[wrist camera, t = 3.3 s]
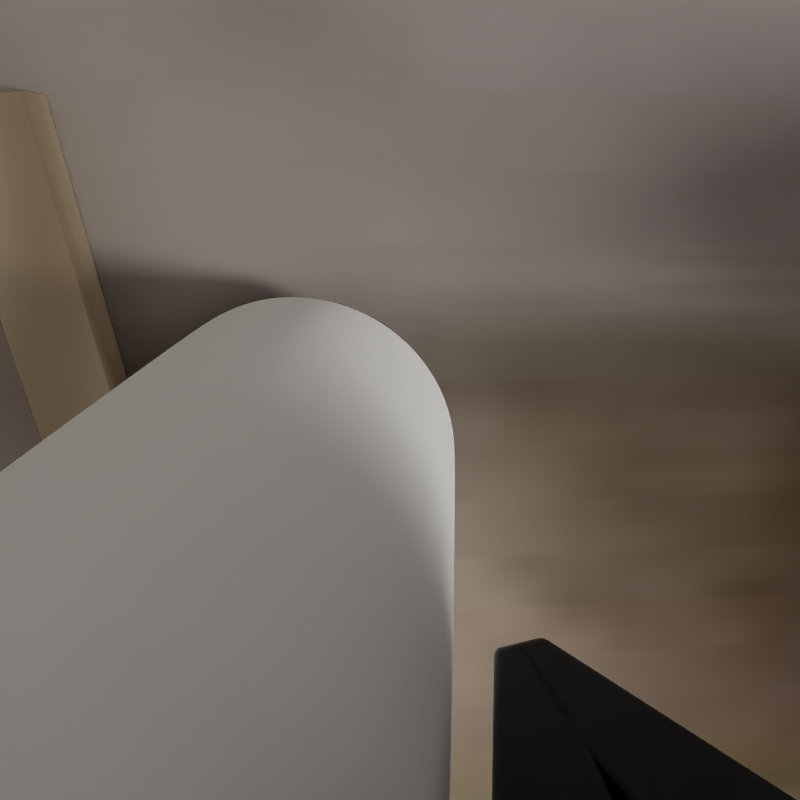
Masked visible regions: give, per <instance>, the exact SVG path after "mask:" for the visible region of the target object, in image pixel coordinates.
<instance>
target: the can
mask: <svg viewBox="0 0 800 800" xmlns="http://www.w3.org/2000/svg"><path fill="white" fill-rule="evenodd" d="M454 516H455V454H454V437H453V430H452V424H451V419H450V415H449V411H448V408H447V405H446V402H445V399H444V397H443V395H442V392H441V390H440V388H439V386H438V384H437V382H436V380H435V378H434V377H433V375H432V374H431V372H430V370H429V369H428V367H427V366H426V365H425V363H424V362H423V361H422V359H421V358H420V357H419V356H418V355H417V353H416V352H415V351H414V350H413V349H412V348H411V347H410V346H409V345H408V344H407V343H406V342H405V341H404V340H403V339H402V338H400V337H399V336H398V335H397V334H396V333H394V332H393V331H392V330H390V329H389V328H388V327H386V326H385V325H383V324H382V323H380V322H378V321H377V320H375V319H373V318H371V317H369V316H368V315H366V314H364V313H361V312H359V311H357V310H354V309H352V308H349V307H347V306H344V305H340V304H337V303H333V302H329V301H325V300H320V299H313V298H303V297H281V298H271V299H265V300H260V301H255V302H251V303H248V304H245V305H242V306H239V307H236V308H234V309H231V310H229V311H227V312H225V313H223V314H221V315H219V316H217V317H215V318H213V319H212V320H210V321H209V322H207V323H205V324H204V325H202V326H201V327H199V328H198V329H196V330H195V331H193V332H192V333H191V334H189V335H188V336H186V337H185V338H183V339H182V340H181V341H179V342H178V343H176V344H175V345H174V346H172V347H171V348H169V349H168V350H167V351H165V352H164V353H162V354H161V355H160V356H158V357H157V358H155V359H154V360H153V361H151V362H150V363H148V364H147V365H146V366H144V367H143V368H142V369H140V370H139V371H137V372H136V373H135V374H133V375H132V376H131V377H129V378H128V379H126V380H125V381H124V382H122V383H121V384H119V385H118V386H117V387H115V388H114V389H113V390H111V391H110V392H108V393H107V394H106V395H104V396H103V397H102V398H100V399H99V400H97V401H96V402H95V403H93V404H92V405H91V406H89V407H88V408H86V409H85V410H84V411H82V412H81V413H80V414H78V415H77V416H76V417H74V418H73V419H71V420H70V421H69V422H67V423H66V424H65V425H63V426H62V427H61V428H59V429H58V430H56V431H55V432H54V433H52V434H51V435H50V436H48V437H47V438H45V439H44V440H43V441H41V442H40V443H39V444H37V445H36V446H35V447H33V448H32V449H30V450H29V451H28V452H26V453H25V454H24V455H22V456H21V457H20V458H18V459H17V460H15V461H14V462H13V463H11V464H10V465H9V466H7V467H6V468H5V469H3V470H2V471H0V800H449V794H450V752H451V703H452V650H453V591H454Z"/></svg>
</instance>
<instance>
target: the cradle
mask: <svg viewBox="0 0 800 800" xmlns="http://www.w3.org/2000/svg"><path fill="white" fill-rule="evenodd" d="M0 321H1V324H2V327H3V330H4V333H5V336H6V339H7V341H8V344H9V347H10V350H11V353H12V356H13V359H14V362H15V365H16V368H17V371H18V374H19V377H20V380H21V383H22V386H23V388H24V391H25V394H26V397H27V400H28V403H29V406H30V409H31V412H32V415H33V418H34V421H35V424H36V427H37V430H38V433H39V435H40V438H41V441H43V440H44V439H45V438H47V437H48V436H50V435H51V434H52V433H54V432H55V431H56V430H58V429H59V428H61V427H62V426H63V425H65V424H66V423H67V422H69V421H70V420H71V419H73V418H74V417H76V416H77V415H78V414H80V413H81V412H82V411H84V410H85V409H86V408H88V407H89V406H91V405H92V404H93V403H95V402H96V401H97V400H99V399H100V398H102V397H103V396H104V395H106V394H107V393H108V392H110V391H111V390H113V389H114V388H115V387H117V386H118V385H119V384H121V383H122V382H124V381H125V380H126V379H127V376H126V372H125V369H124V365H123V362H122V358H121V355H120V351H119V348H118V344H117V341H116V337H115V334H114V331H113V327H112V324H111V320H110V317H109V313H108V310H107V306H106V303H105V299H104V296H103V292H102V289H101V285H100V282H99V278H98V275H97V271H96V268H95V264H94V261H93V257H92V254H91V250H90V247H89V243H88V240H87V236H86V233H85V230H84V226H83V223H82V219H81V216H80V212H79V209H78V205H77V202H76V198H75V195H74V191H73V188H72V184H71V181H70V177H69V174H68V170H67V167H66V163H65V160H64V156H63V153H62V149H61V146H60V142H59V139H58V135H57V132H56V129H55V125H54V122H53V118H52V115H51V111H50V108H49V104H48V101H47V97H46V95H44V94H39V93H33V92H28V91H23V90H16V91H9V92H2V93H0Z"/></svg>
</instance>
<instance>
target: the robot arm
mask: <svg viewBox="0 0 800 800" xmlns="http://www.w3.org/2000/svg"><path fill="white" fill-rule="evenodd" d="M492 800H796V799H794V798H793V797H791V796H790V795H788V794H787V793H785V792H783V791H782V790H780V789H779V788H777V787H776V786H774V785H772V784H771V783H769V782H768V781H766V780H765V779H763V778H762V777H760V776H758V775H757V774H755V773H754V772H752V771H751V770H749V769H748V768H746V767H744V766H743V765H741V764H740V763H738V762H737V761H735V760H734V759H732V758H730V757H729V756H727V755H726V754H724V753H723V752H721V751H719V750H718V749H716V748H715V747H713V746H712V745H710V744H709V743H707V742H705V741H704V740H702V739H701V738H699V737H698V736H696V735H695V734H693V733H691V732H690V731H688V730H687V729H685V728H684V727H682V726H681V725H679V724H677V723H676V722H674V721H673V720H671V719H670V718H668V717H667V716H665V715H663V714H662V713H660V712H659V711H657V710H656V709H654V708H652V707H651V706H649V705H648V704H646V703H645V702H643V701H642V700H640V699H638V698H637V697H635V696H634V695H632V694H631V693H629V692H628V691H626V690H624V689H623V688H621V687H620V686H618V685H617V684H615V683H614V682H612V681H610V680H609V679H607V678H606V677H604V676H603V675H601V674H599V673H598V672H596V671H595V670H593V669H592V668H590V667H589V666H587V665H585V664H584V663H582V662H581V661H579V660H578V659H576V658H575V657H573V656H571V655H570V654H568V653H567V652H565V651H564V650H562V649H561V648H559V647H557V646H556V645H554V644H553V643H551V642H550V641H548V640H546V639H543V638H538V639H533V640H529V641H525V642H521V643H517V644H513V645H509V646H505V647H500V648H498V649H497V650H496V651H495V654H494V706H493V774H492Z"/></svg>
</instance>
